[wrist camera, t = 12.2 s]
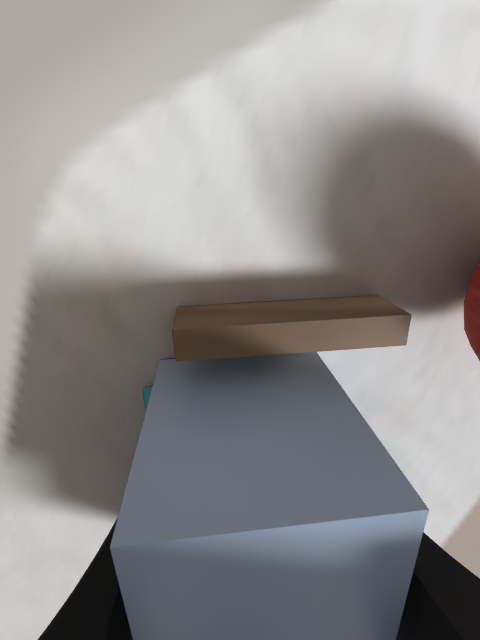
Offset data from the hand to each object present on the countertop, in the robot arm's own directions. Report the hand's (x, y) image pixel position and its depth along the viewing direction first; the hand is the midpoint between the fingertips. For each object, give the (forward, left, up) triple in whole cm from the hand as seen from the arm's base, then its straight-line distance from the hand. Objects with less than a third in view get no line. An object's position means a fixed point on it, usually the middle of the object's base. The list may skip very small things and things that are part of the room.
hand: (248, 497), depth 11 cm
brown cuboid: (+6, -2, -2) cm, 7 cm away
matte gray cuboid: (0, 0, -2) cm, 2 cm away
